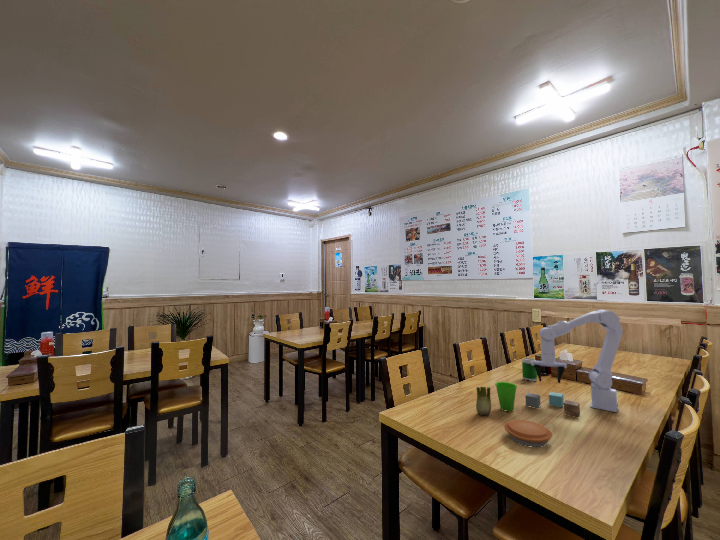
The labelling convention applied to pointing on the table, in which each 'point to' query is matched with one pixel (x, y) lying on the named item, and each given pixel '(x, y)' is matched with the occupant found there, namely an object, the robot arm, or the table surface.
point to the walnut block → (571, 408)
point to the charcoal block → (532, 400)
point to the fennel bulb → (483, 401)
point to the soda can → (528, 370)
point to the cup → (506, 395)
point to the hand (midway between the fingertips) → (549, 381)
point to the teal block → (556, 399)
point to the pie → (528, 433)
